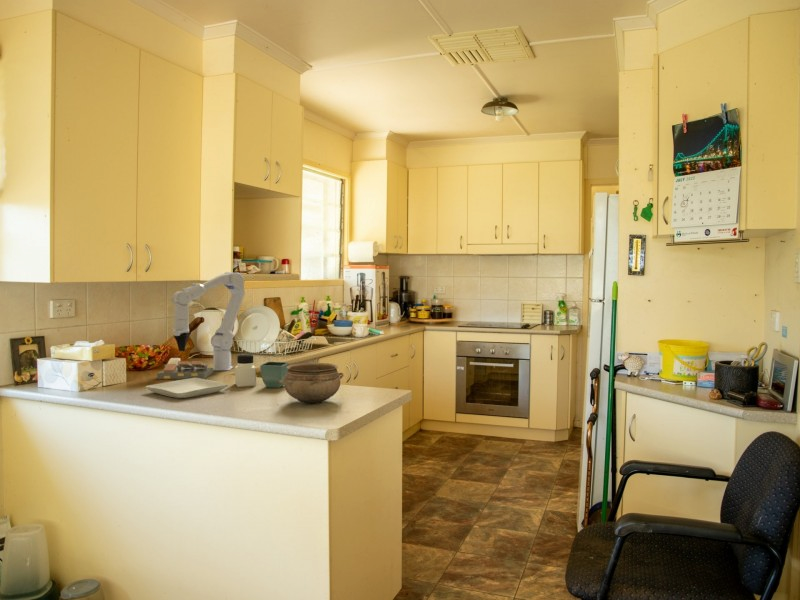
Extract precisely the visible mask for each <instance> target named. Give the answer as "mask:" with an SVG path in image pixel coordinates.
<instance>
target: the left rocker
mask: <svg viewBox="0 0 800 600" xmlns="http://www.w3.org/2000/svg"><path fill="white" fill-rule="evenodd" d="M178 361H182V359H181V357H171V358H170V359H169V360H168V362H167V364H165V365H166V367H165V368H164V367H163V370H164V372H174V371H175V369H176V368H177V365H178Z"/></svg>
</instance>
